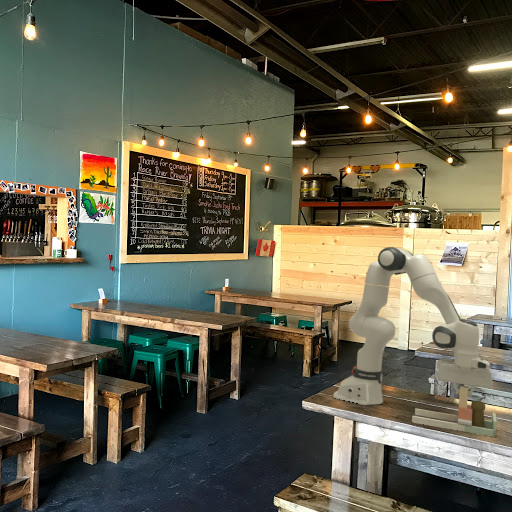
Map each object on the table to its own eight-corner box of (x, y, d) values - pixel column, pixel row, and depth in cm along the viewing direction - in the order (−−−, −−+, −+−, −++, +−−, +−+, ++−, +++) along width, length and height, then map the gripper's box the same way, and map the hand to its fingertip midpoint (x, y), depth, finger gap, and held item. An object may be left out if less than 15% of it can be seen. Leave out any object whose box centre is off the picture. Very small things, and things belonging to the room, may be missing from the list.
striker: (457, 429, 194) (459, 389, 194) (458, 419, 206) (460, 382, 206) (471, 432, 192) (473, 392, 192) (471, 422, 204) (473, 384, 204)
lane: (412, 422, 201) (412, 407, 201) (415, 414, 212) (415, 400, 212) (495, 437, 189) (496, 421, 189) (494, 427, 200) (495, 412, 200)
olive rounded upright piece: (466, 429, 197) (468, 401, 197) (470, 425, 202) (472, 398, 202) (482, 433, 193) (484, 404, 193) (486, 429, 198) (488, 401, 198)
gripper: (437, 358, 201) (435, 392, 201) (493, 365, 192) (491, 401, 193) (438, 355, 206) (436, 389, 207) (493, 362, 198) (491, 397, 198)
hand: (463, 395), depth 200 cm, fingers closed on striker, 3 cm apart
